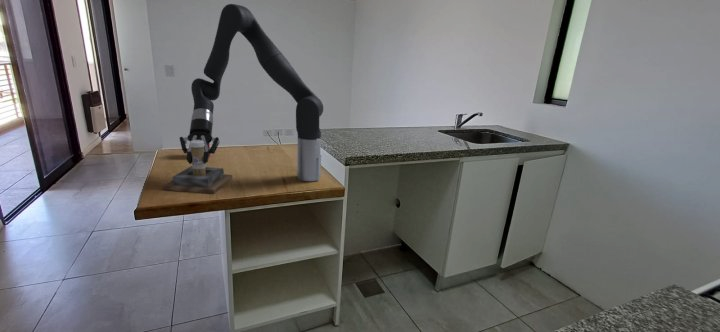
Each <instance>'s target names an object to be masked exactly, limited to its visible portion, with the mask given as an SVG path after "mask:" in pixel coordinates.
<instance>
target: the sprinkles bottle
mask: <svg viewBox="0 0 720 332" xmlns="http://www.w3.org/2000/svg"><path fill="white" fill-rule="evenodd" d="M189 145H190V147H191V154H192V164H191V166H192V168H193V175H198V176H204V175H206V169H205V167H206V166H207V165H206V164H204V162H203V157H204V141H202V140H192V141H189Z"/></svg>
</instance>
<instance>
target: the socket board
mask: <svg viewBox="0 0 720 332" xmlns="http://www.w3.org/2000/svg"><path fill="white" fill-rule="evenodd" d="M205 169H206V175H204V176H198V175H193V168H192V165H190V166H189V167H187V168H186V169H184V170H182V171H180V172H178V173H176V174H175V175H173V176H172V180H171V181H168V182H166V184H164V185H163V186H162V187H163V190H164V191H175V192H176V191H177V192H188V193H190V192H191V193H203V194H204V193H205V194H215V193H217V192H218V191H219V190H220V189H222V188H223V187H224V186H225V185H226V184H228V183H229V182H230V181H232V180H233V178H234V177H233V174H225V172H224V171H225V170H224V168H222V167H220V168H219V167H210V166H209V167H208V166H207V167H205Z"/></svg>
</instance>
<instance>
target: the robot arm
mask: <svg viewBox="0 0 720 332" xmlns="http://www.w3.org/2000/svg"><path fill="white" fill-rule="evenodd" d="M237 33H240V34H242V36H243V37H244V38H245V39H246V40H247V42H248V43H250V45H251V47H252V48H253V50H254V52H255V55H256V59H257V61H258V63H259V64H260V66H261V67H262V69H263V70H264V71H265V73H266V74H267V75H268V76H269V77H270V78H271V79H272V81H274V82H275V83H276V84H277V85H278V86H279V87H281V88H282V89H283V90H285V91H286V92H287V93H288V94H290V96H291V97H292V98H293V99H294V101H295V102H296V103H297V104H296V108H295V129H296V133H297V158H296V159H297V160H296V161H297V165H296V167H297V168H296V169H297V170H296V171H297V173H296V174H297V175H296V177H297V178H296V179H298V180H299V181H301V182H302V181H303V182H319V181H320V178H321V174H322V173H321V172H322V169H321V168H322V155H321V144H322V132H321V130H320V118H321V116H322V115H323V113H324V103H323V102H322V100H321V99H320V98H319V97H318V96H317V95H316V94H315V92H313V91H312V90H311V89H310V87H309V86H307V84H306V83H305V82H304V81H303V80H302V78H301V77H300V75H299V74H298V73H297V71H296V70H295V69H294V67H293V66H292V65H291V63H290V62H289V61H288V59H287V58H286V57H285V55H284V54H283V53H282V52H281V50H280V49H279V48H278V47H277V46H276V44H275V43H274V42H273V41H272V39H271V38H269V36H268V35H267V33H266V32H265V31H264V29H263V28H262V26H261V25H260V23H259V22H258V20H257V19H256V17H255V16H254V14H253V13H252V11H251V10H250V9H249V8H247V7H246V6H243V5H239V4H236V3H229V4H226V5H225V6H223V8H222V9H221V12H220V16H219V21H218V26H217V29H216V34H215V38H214V41H213V46H212V49H211V51H210V54H209V57H208V59H207V62H206V63H205V66H204V68H203V74H204V76H206V77H207V78H209V79H210V80H212V81H213V82H211V81H209V80H207V79H203V78H201V77H198V78H195V79H194V80H193V81H192V83H191V95H192V97H193V98H192V99H193V103H194V105H193V111H192V115H191V120H190V127H189V134H188V135H187V136H185V137H183V136H179V142H180V146H181V150H182V152H183V153H184V154H185V155H186V162H187V163H188V164H189V165H192V154H191V147H190V144H189V146H188V148H187V144H188V141H189V142H190V141H192V140H202V141H204V150H205V152H204V157H203V162H204V164H205V165H206V164H207V163H208V162H209V158H210V157H209V154H210V155H211V154H213V155H214V154H215V153H216V151H217V149H218V146H219V144H220V138H219V137H218V136H217V137H213V135H212V134H213V125H214V108H215V106H214V101H217V99H219V97H220V94H221V83H222V78H223V76H224V74H225V72H226V70H227V67H228V65H229V60H230V49H231V44H232V42H233V39H234V38H235V36H236V35H237ZM211 142H212V144H211V147H210V149H208V146H207V145H208V144H209V145H210V143H211Z"/></svg>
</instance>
